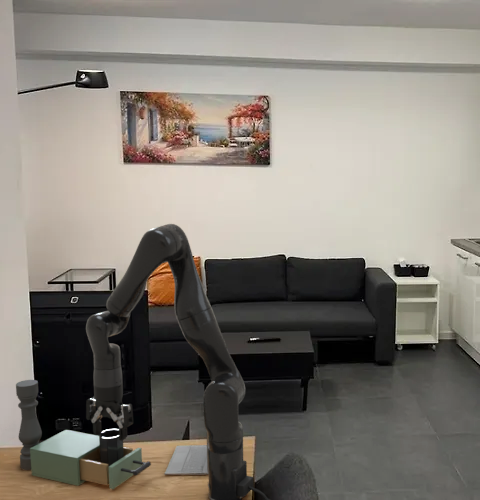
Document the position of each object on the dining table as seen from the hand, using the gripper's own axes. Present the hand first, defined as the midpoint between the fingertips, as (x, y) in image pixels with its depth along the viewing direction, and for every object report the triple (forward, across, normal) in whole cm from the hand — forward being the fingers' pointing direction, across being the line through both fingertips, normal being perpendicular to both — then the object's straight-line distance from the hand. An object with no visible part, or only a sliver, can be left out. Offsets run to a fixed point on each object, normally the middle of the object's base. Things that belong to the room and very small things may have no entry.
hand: (110, 436), depth 183 cm
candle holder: (+12, -26, -3) cm, 29 cm away
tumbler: (+10, 0, 0) cm, 10 cm away
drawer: (+11, +2, -1) cm, 11 cm away
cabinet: (+12, -13, -1) cm, 17 cm away
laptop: (+12, +16, +16) cm, 25 cm away
